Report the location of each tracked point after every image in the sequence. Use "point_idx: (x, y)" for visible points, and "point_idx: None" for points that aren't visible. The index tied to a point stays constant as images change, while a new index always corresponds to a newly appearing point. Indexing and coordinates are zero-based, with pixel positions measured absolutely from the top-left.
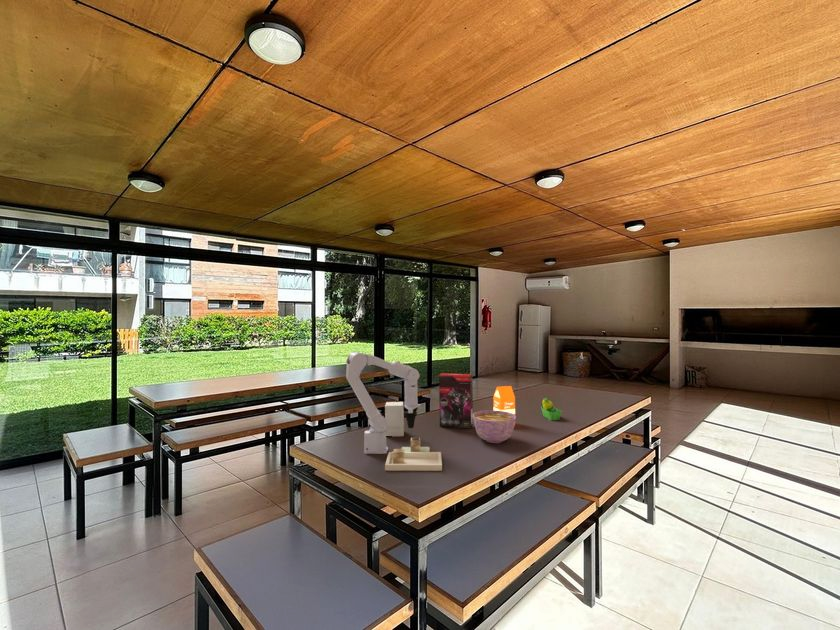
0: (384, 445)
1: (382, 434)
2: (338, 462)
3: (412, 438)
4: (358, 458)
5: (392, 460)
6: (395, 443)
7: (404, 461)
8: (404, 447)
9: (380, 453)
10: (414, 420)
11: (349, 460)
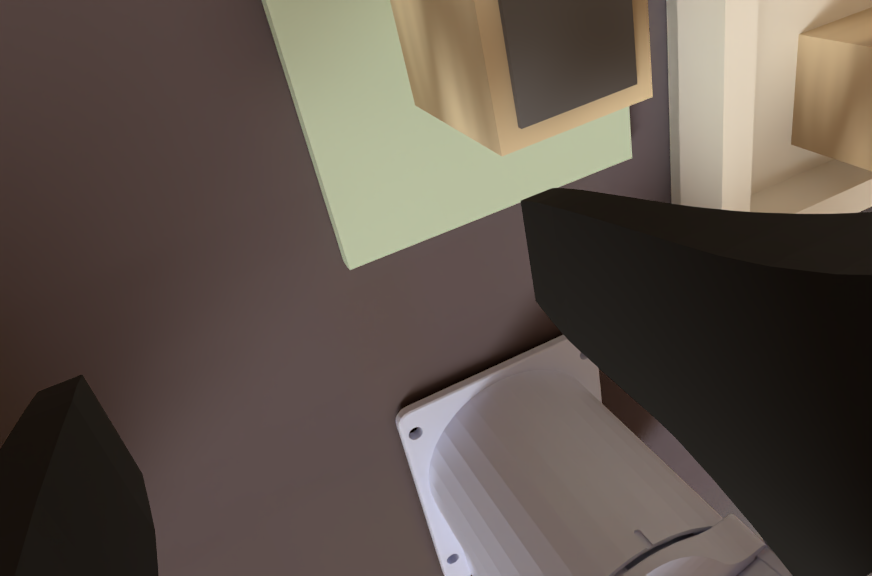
0: (590, 410)
1: (714, 512)
2: (752, 525)
3: (566, 101)
4: (683, 469)
5: (768, 171)
6: (172, 435)
7: (800, 30)
8: (364, 227)
9: (598, 376)
10: (745, 213)
11: (720, 494)
